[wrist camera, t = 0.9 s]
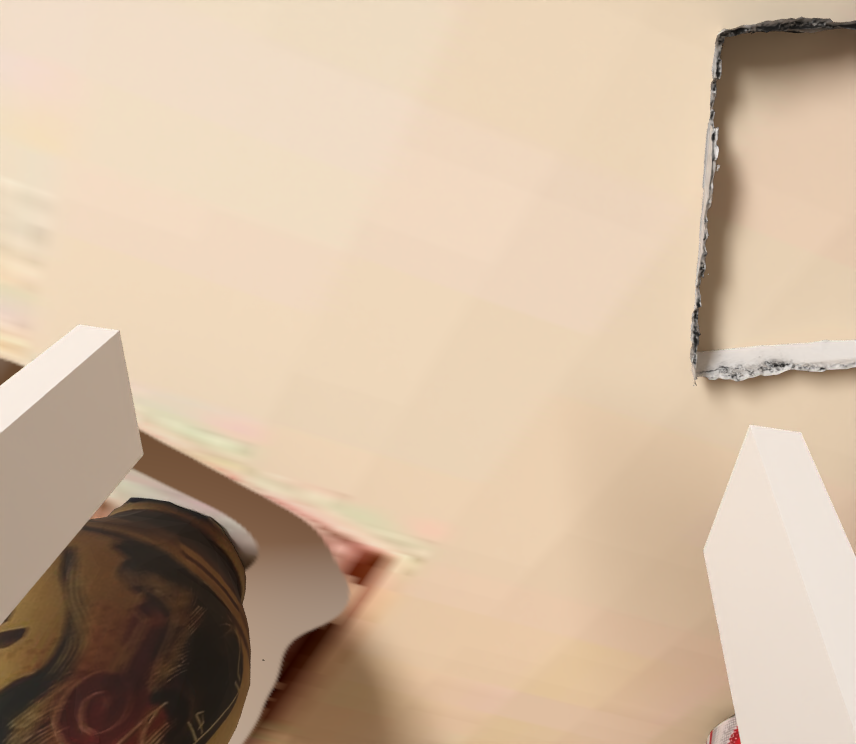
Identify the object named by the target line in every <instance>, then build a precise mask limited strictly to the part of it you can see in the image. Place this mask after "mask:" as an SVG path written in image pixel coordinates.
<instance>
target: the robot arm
mask: <svg viewBox="0 0 856 744" xmlns="http://www.w3.org/2000/svg"><path fill="white" fill-rule="evenodd" d="M142 456H143V450H142V445H141V439H140V434H139V429H138V424H137V419H136V414H135V408H134V403H133V398H132V393H131V388H130V383H129V377H128V372H127V367H126V362H125V357H124V351H123V346H122V341H121V336H120V331H119V330H113V329H106V328H99V327H93V326H86V325H77V326H76V327H75V328H74V329H72V330H71V331H70V332H68V333H67V334H66V335H65V336H63V337H62V338H61V339H60V340H58V341H57V342H56V343H54V344H53V345H52V346H51V347H49V348H48V349H47V350H45V351H44V352H43V353H42V354H40V355H39V356H38V357H36V358H35V359H34V360H33V361H31V362H30V363H29V364H28V365H26V366H25V367H24V368H22V369H21V370H20V371H19V372H17V373H16V374H15V375H14V376H12V377H11V378H10V379H8V380H7V381H6V382H5V383H3V384H2V385H1V386H0V625H1V624H2V623H3V622H4V620H5V619H6V618H7V617H8V616H9V614H10V613H11V612H12V611H13V610H14V608H15V607H16V606H17V605H18V604H19V602H20V601H21V600H22V599H23V598H24V597H25V595H26V594H27V593H28V592H29V591H30V589H31V588H32V587H33V586H34V585H35V583H36V582H37V581H38V580H39V579H40V577H41V576H42V575H43V574H44V573H45V571H46V570H47V569H48V568H49V567H50V566H51V564H52V563H53V562H54V561H55V560H56V558H57V557H58V556H59V555H60V554H61V552H62V551H63V550H64V549H65V548H66V546H67V545H68V544H69V543H70V542H71V540H72V539H73V538H74V537H75V536H76V534H77V533H78V532H79V531H80V530H81V529H82V527H83V526H84V525H85V524H86V523H87V521H88V520H89V519H90V518H91V517H92V515H93V514H94V513H95V512H96V511H97V509H98V508H99V507H100V506H101V505H102V503H103V502H104V501H105V500H106V499H107V498H108V496H109V495H110V494H111V493H112V492H113V490H114V489H115V488H116V487H117V486H118V484H119V483H120V482H121V481H122V480H123V478H124V477H125V476H126V475H127V474H128V472H129V471H130V470H131V469H132V468H133V466H134V465H135V464H136V463H137V462H138V460H139V459H140V458H141V457H142ZM703 552H704V558H705V563H706V568H707V573H708V578H709V583H710V588H711V593H712V598H713V603H714V609H715V614H716V619H717V624H718V629H719V634H720V639H721V644H722V649H723V654H724V659H725V665H726V670H727V675H728V680H729V685H730V690H731V695H732V700H733V705H734V710H735V716H736V721H737V726H738V731H739V736H740V741H741V744H856V557H855V554H854V552H853V550H852V547H851V545H850V543H849V541H848V538H847V536H846V534H845V531H844V529H843V527H842V525H841V522H840V520H839V518H838V516H837V513H836V511H835V509H834V506H833V504H832V502H831V500H830V497H829V495H828V493H827V490H826V488H825V486H824V484H823V481H822V479H821V477H820V474H819V472H818V470H817V468H816V465H815V463H814V461H813V458H812V456H811V454H810V452H809V449H808V447H807V445H806V442H805V440H804V438H803V436H802V433H801V432H795V431H789V430H782V429H775V428H769V427H762V426H755V425H749V428H748V431H747V434H746V436H745V439H744V442H743V444H742V447H741V450H740V452H739V455H738V458H737V460H736V463H735V466H734V469H733V471H732V474H731V477H730V479H729V482H728V485H727V487H726V490H725V493H724V496H723V498H722V501H721V504H720V506H719V509H718V512H717V514H716V517H715V520H714V522H713V525H712V528H711V531H710V533H709V536H708V539H707V541H706V544H705V547H704V549H703Z"/></svg>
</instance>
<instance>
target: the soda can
mask: <svg viewBox="0 0 856 744" xmlns="http://www.w3.org/2000/svg"><path fill="white" fill-rule="evenodd" d="M706 744H741V741H740V736H739V731H738V726H737V721H736V716H735V715H734V716H732V717H731V718H729V719H727V720H725V721H723V722H722V723H720V724H718V725H717V726H716V727H715V728H714V729H713V730H712V731H711V732H710V734H709V736H708V738H707V741H706Z"/></svg>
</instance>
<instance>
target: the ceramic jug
mask: <svg viewBox="0 0 856 744" xmlns="http://www.w3.org/2000/svg"><path fill="white" fill-rule="evenodd" d="M245 590H246V575H245V569H244V567H243V565H242V563H241V561H240V559H239V557H238V554H237V552H236V550H235V548H234V546H233V545H232V544H231V542H230V541H229V539H228V538H227V536H226V535H225V533H224V531H223V529H222V528H221V527H220V526H219V525H218V524H217V523H216V522H214V521H213V520H212V519H211V518H210V517H207V516H202V515H200V514H197V513H195V512H193V511H190V510H187V509H183V508H180V507H177V506H176V505H174V504H172V503H170V502H167V501H160V500H153V499H144V498H130V499H129V500H128V501H127V502H126V503H124V504H123V505H122V506H121V507H119V508H116V509H114V510H113V511H112V512H111V513H110V515H109V516H108V517H104V518H97V519H90V520H88V521H87V523H86V524H85V525H84V526H83V527H82V529H81V530H80V531H79V532H78V533H77V534H76V536H75V537H74V538H73V539H72V540H71V542H70V543H69V544H68V545H67V546H66V548H65V549H64V550H63V551H62V552H61V554H60V555H59V556H58V557H57V558H56V560H55V561H54V562H53V563H52V564H51V566H50V567H49V568H48V569H47V570H46V571H45V573H44V574H43V575H42V576H41V577H40V579H39V580H38V581H37V582H36V583H35V585H34V586H33V587H32V588H31V589H30V591H29V592H28V593H27V594H26V595H25V597H24V598H23V599H22V600H21V601H20V602H19V604H18V605H17V606H16V607H15V608H14V610H13V611H12V612H11V613H10V614H9V616H8V617H7V618H6V619H5V620H4V622H3V623H2V624H1V625H0V744H228V742H229V741H230V739H231V737H232V735H233V733H234V731H235V729H236V727H237V724H238V721H239V719H240V716H241V713H242V709H243V706H244V702H245V699H246V696H247V692H248V690H249V686H250V657H251V656H250V655H251V649H250V640H249V639H250V638H249V628H248V623H247V618H246V615H245V612H244V608H243V605H242V604H243V600H244V595H245ZM263 661H264V660H263Z"/></svg>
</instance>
